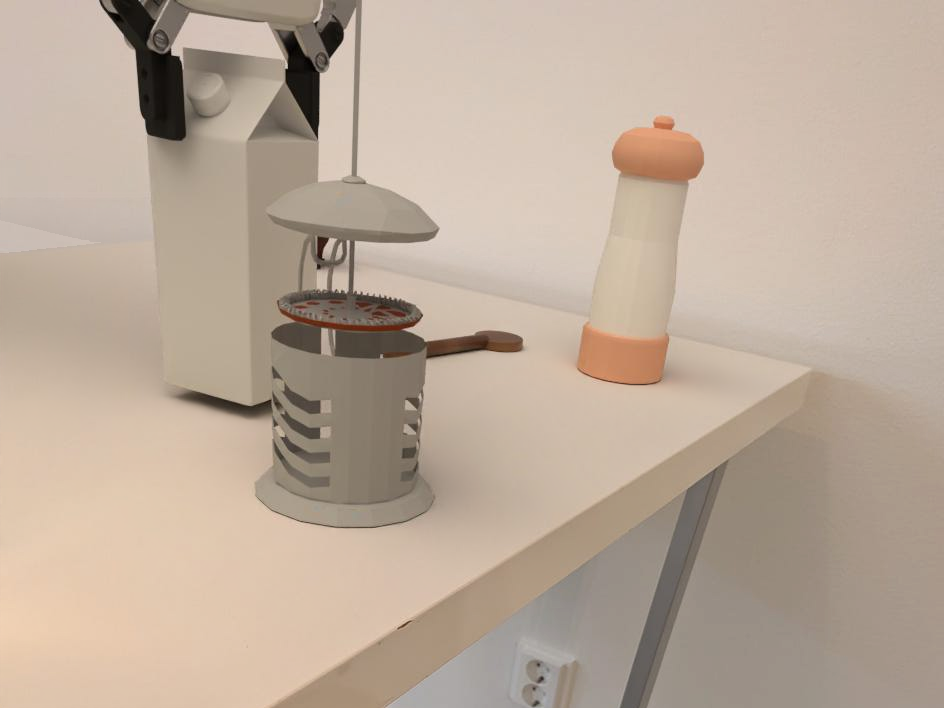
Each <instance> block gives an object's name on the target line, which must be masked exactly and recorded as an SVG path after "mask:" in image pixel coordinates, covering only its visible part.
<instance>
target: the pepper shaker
mask: <svg viewBox="0 0 944 708" xmlns="http://www.w3.org/2000/svg"><path fill="white" fill-rule="evenodd" d="M652 124H653V127H648V126H647V127H645V126H643V127H641V126H640V127H639V126H635V127H632V128H631V129H629V130H626V131H624V132H622V134H620V135H619V137H618V138H617V139H616V141H615V143H614V145H613V148H612V150H611V158H612V164H613V167H614V169H616V170H618V171H619V172H620V173H619V175H618V179H617V184H616V190H615V197H614V201H613V207H612V214H611V219H610V226H609V232H608V235H607V239H606V241H605V245H604V247H603V251H602V254H601V258H600V260H599V264H598V267H597V271H596V274H595V277H594V279H593V286H592V295H591V302H590V308H589V310H590V311H589V316H588V317H589V318H588V320H587V322H585V323H584V324H583V326H582V331H581V339H580V345H579V350H578V358H577V363H576V364H577V365H576V366H577V367H576V368H577V369H578V371H580V372H582V373H583V374H585V375H588V376H590V377H592V378H595V379H600V380H604V381H609V382H613V383H619V384H629V385H648V384H655V383H657V382H659V381H661V379H662V377H663V372H664V367H665V362H666V357H667V353H668V349H669V348H668V347H669V343H670V335H669V334H668V332H667V329H668V324H669V320H670V316H671V313H672V309H673V308H672V307H673V304H674V303H673V302H674V298H675V295H676V286H677V285H676V283H677V282H676V281H677V268H678V267H677V266H678V265H677V264H678V250H679V249H678V248H679V247H678V245H679V238H680V232H681V227H682V222H683V218H684V211H685V207H686V201H687V196H688V190H689V186H690V183H689V181H690V180H693V179H696V178H697V177H698V176H699V174H700V173H701V171H702V169H703V167H704V165H705V153H704V152H705V151H704V149H703V147H702V143H701V141H699V140H698V139H697V138H695V137H694V136H693V135H692V134H690V133H687V132H684V131H679V130H674V126H675V125H676V123H675V119H674V118H673V117H671V116H668V115H658V116H656V117H655V118H654V119H653V121H652Z"/></svg>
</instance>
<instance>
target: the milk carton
mask: <svg viewBox="0 0 944 708" xmlns="http://www.w3.org/2000/svg"><path fill="white" fill-rule="evenodd" d="M182 67H183V86H184V105H185V123H186V137H185V138H184V139H183V140H182V141H172V140H167V139H163V138H159V137H154V136H150V135H148V134H147V133H146V145H147V159H148V171H149V172H148V173H149V186H150V199H151V200H150V201H151V214H152V228H153V244H154V255H155V256H154V257H155V258H154V259H155V269H156V270H155V271H156V284H157V297H158V298H157V299H158V311H159V313H158V314H159V327H160V341H161V354H162V355H161V356H162V369H163V381H164V383H166V384H168V385H172V386H175V387H178V388H182V389H186V390H190V391H194V392H196V393H200V394H204V395H207V396H211V397H215V398H219V399H222V400H224V401H225V400H226V401H229V402H233V403H237V404H240V405H243V406H249V407H254V406H256V405H260V404H262V403H264V402H267V401H269V400H270V401H271V400H272V391H273V388H272V382H271V366H273V363H272V358H271V332H272V331H273V330H274V329H275V328H276V327H278V326H280V325H282V324H286V323H291V322H297V321H294V320H292V319H290V318H289V317H287V316H285V315H283V314H282V313H281V312H280V310H279V308H278V304H277V301H278V300H280V297H283V296H284V295H286V294H288V293H292V292H298V270H299V265H300V259H301V254H302V249H303V244H304V241H305V239H306V237H307V236H308V234H305V233H302V232H298V231H294V230H291V229H287V228H285V227H282V226H280V225H277V224H275V223H274V222H273V221H272V220H271V218H270V217H269V216H268V214H267V212H266V208H267V207H268V206H270V205H271V204H273V203H274V202H275V201H277V200H278V199H280V198H281V197H282V196H284V195H285V194H287V193H288V192H289V191H292V190H295V189H298V188H300V187H303V186H306V185H309V184H312V183H315V182H319V156H320V155H319V151H320V149H319V148H320V147H319V144H320V141H319V138H318V139H317V137H316V136H315V134H314V132H313V130H312V129H311V127H310V125H309V123H308V122H307V120H306V118H305V116H304V114H303V113H302V111H301V109H300V107H299V106H298V104H297V102H296V100H295V99H294V97H293V95H292V93H291V92H290V90H289V88H288V86H287V84H286V83H285V68H286V60H285V59H279V58H273V57H264V56H257V55H249V54H241V53H240V54H239V53H232V52H225V51H217V50H209V49H201V48H193V47H185V46H184V47H182ZM315 241H316V254H317V236H315ZM317 278H318V269H317V263H316V262H314V260H313V258H312V255H311V241H310V242H309V243H308V246H307V251H306V255H305V260H304V267H303V281H302V291H306V290H307V289H308V290H309V291H310V290H313V289H315V291H316V290H317V289H318V288H317V286H318V283H317V282H318V281H317V280H318V279H317ZM308 293H309V292H308ZM312 293H315V292H312ZM294 294H295V293H294ZM274 380H275V382H276V383H277V385H278V387H279V388H280V390H282V391H284V381H283V380H281V379H278V378H275V379H274Z"/></svg>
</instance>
